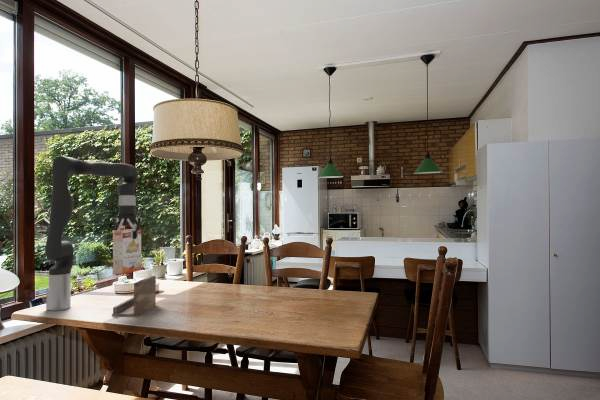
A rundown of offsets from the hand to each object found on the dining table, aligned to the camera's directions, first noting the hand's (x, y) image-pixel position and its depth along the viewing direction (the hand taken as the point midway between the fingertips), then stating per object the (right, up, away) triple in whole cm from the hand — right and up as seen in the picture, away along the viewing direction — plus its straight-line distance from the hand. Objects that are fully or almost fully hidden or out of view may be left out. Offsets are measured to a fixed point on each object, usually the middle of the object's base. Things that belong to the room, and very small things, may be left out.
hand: (127, 239), depth 181 cm
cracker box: (0, -16, -1) cm, 16 cm away
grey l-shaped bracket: (+4, -35, 0) cm, 35 cm away
